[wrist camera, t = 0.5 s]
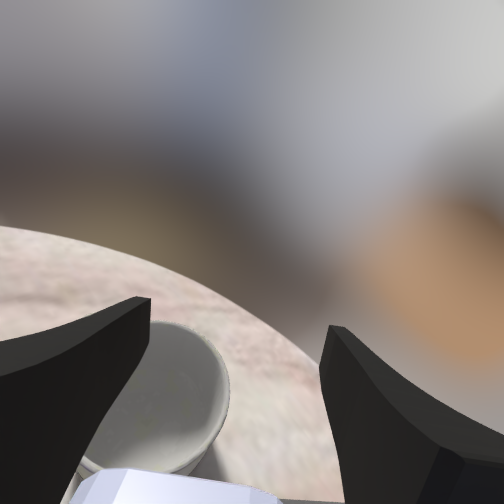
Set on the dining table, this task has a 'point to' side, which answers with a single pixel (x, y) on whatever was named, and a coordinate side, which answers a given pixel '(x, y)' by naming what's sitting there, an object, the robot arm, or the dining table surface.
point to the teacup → (164, 407)
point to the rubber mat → (306, 502)
